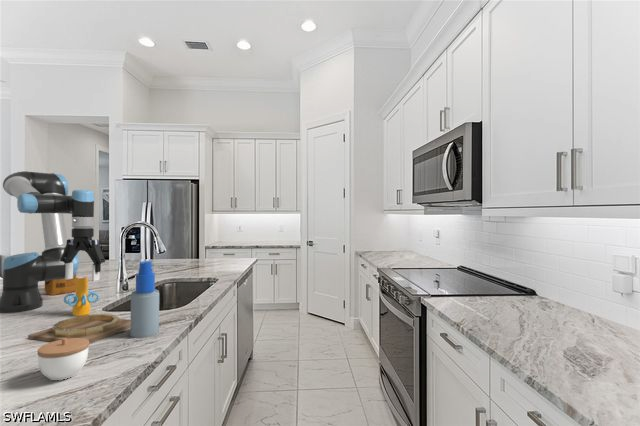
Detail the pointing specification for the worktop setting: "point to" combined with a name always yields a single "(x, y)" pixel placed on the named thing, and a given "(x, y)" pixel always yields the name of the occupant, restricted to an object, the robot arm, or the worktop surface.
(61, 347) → the lidded jar
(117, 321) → the tan flat ring
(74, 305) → the cylinder
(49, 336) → the seat plate
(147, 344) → the worktop surface
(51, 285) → the coffee package
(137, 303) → the spray bottle
